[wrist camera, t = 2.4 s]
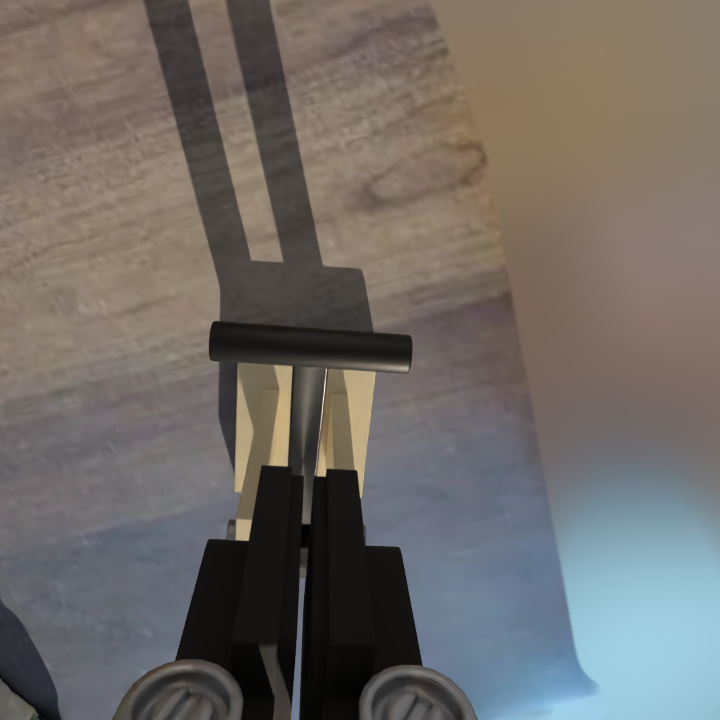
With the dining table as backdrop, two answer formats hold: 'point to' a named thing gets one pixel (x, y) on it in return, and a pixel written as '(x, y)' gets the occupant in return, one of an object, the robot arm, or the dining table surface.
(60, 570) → the dining table surface
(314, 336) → the lever
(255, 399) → the bracket
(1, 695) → the juice carton
